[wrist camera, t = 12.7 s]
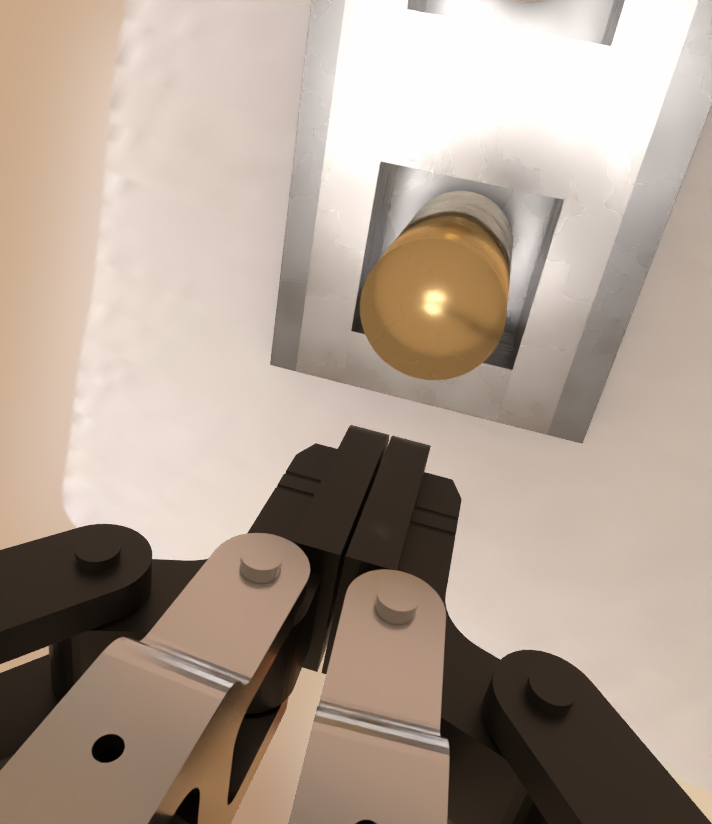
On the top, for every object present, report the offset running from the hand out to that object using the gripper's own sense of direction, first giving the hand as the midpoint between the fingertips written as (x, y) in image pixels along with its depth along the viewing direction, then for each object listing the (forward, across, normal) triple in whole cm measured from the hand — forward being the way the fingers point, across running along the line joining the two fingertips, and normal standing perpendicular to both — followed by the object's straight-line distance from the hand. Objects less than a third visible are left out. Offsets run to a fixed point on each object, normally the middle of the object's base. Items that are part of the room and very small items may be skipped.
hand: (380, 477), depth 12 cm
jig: (+19, 0, -6) cm, 20 cm away
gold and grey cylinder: (+18, 0, 0) cm, 18 cm away
